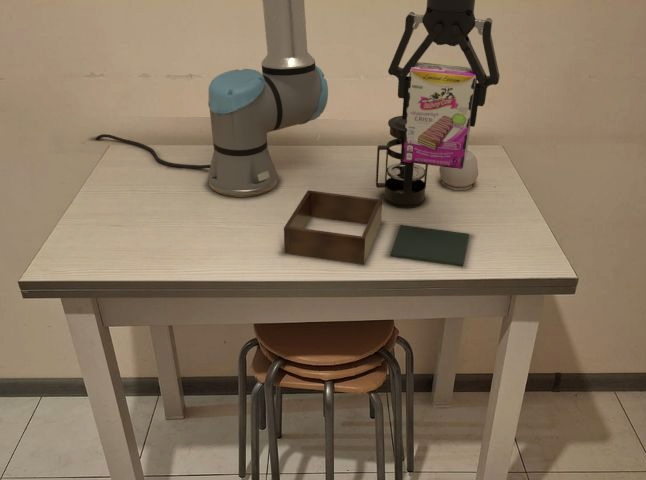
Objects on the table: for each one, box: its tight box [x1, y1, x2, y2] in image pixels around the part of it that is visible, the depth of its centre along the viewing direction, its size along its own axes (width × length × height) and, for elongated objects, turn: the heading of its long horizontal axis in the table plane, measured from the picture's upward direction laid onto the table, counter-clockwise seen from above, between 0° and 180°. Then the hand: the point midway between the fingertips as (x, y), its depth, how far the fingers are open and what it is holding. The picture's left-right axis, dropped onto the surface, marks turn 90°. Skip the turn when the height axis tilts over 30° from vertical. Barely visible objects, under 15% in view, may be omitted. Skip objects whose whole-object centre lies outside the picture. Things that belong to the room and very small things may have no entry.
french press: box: [375, 115, 429, 209], centre depth 146 cm, size 12×9×23 cm
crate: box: [283, 189, 383, 265], centre depth 137 cm, size 16×17×6 cm
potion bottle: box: [439, 150, 479, 191], centre depth 154 cm, size 9×9×18 cm
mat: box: [389, 224, 470, 267], centre depth 137 cm, size 14×12×1 cm
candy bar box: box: [403, 61, 478, 169], centre depth 121 cm, size 11×5×16 cm, turn 77°
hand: (438, 120), depth 122 cm, fingers closed on candy bar box, 11 cm apart
